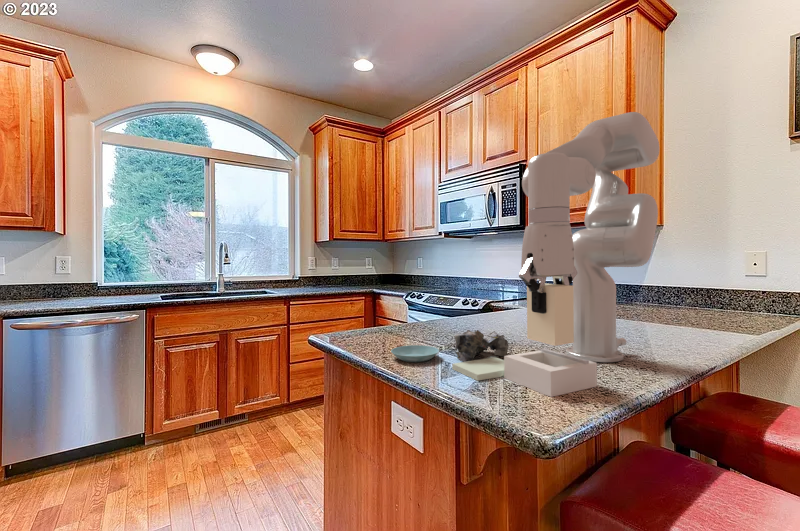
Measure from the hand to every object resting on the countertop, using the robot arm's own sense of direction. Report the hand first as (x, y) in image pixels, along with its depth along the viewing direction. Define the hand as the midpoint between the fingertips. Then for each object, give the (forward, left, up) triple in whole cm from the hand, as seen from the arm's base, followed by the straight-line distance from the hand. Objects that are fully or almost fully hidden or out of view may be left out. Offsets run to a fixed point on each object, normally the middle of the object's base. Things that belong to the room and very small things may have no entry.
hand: (549, 310), depth 75 cm
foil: (+1, -21, -15) cm, 25 cm away
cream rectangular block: (0, 0, -6) cm, 6 cm away
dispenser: (0, 0, -14) cm, 14 cm away
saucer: (+15, -28, -15) cm, 35 cm away
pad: (+6, -11, -14) cm, 19 cm away
